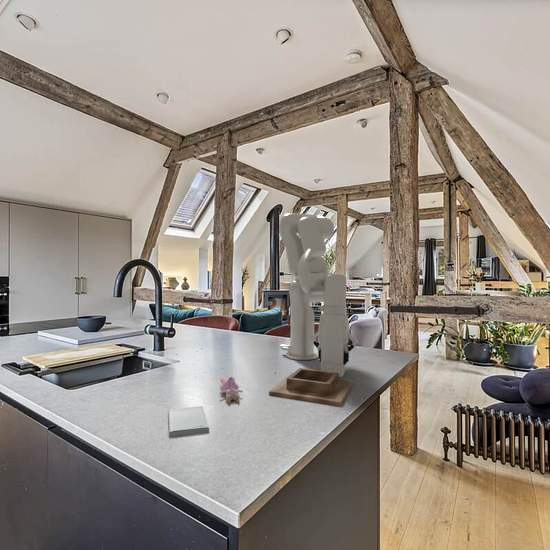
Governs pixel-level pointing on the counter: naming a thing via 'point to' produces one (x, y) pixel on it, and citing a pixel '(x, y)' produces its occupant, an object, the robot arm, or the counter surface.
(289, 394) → the walnut holder
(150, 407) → the counter surface
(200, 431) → the hard drive
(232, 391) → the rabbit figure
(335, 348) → the supplement box
